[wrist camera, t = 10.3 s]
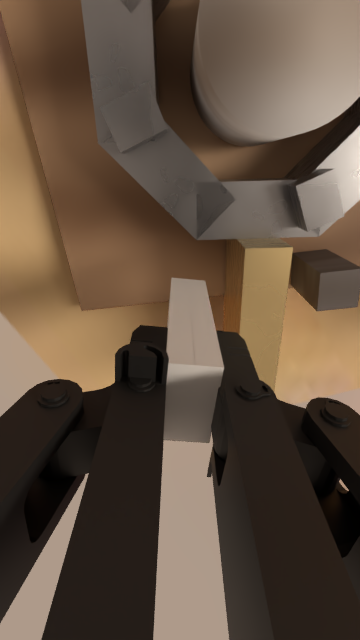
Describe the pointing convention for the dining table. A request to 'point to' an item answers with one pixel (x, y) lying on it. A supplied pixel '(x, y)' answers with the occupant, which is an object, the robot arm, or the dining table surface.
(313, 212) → the ring nut
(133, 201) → the mount plate
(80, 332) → the dining table surface
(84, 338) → the dining table surface
